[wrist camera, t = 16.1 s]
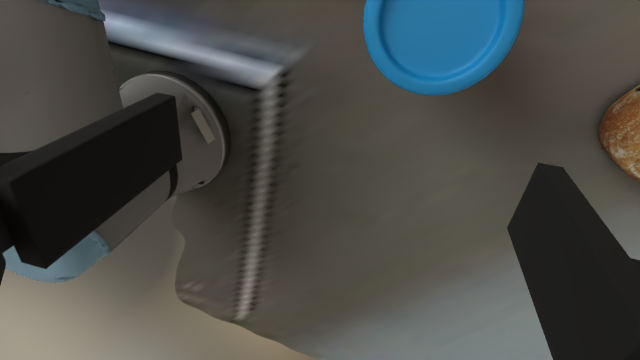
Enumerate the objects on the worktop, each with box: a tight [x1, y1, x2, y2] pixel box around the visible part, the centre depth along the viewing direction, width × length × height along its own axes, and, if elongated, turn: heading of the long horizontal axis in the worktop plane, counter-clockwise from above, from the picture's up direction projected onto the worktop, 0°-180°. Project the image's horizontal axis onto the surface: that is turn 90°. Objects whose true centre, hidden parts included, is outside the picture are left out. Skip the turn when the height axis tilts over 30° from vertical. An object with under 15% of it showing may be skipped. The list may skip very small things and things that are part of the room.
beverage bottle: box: [363, 0, 525, 95], centre depth 24 cm, size 8×8×20 cm
